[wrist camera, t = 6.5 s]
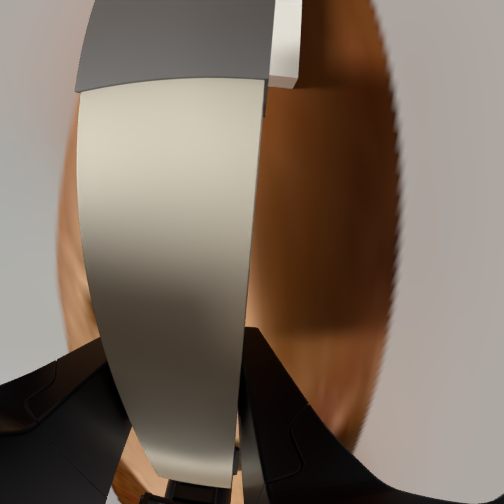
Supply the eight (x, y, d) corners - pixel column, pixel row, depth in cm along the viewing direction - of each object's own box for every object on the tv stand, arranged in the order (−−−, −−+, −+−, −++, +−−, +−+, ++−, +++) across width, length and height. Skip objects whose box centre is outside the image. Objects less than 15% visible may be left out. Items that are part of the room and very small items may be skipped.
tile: (297, 78, 9) (303, -51, 6) (170, 74, 9) (197, -53, 6) (291, 90, 11) (298, -29, 8) (184, 86, 11) (205, -32, 8)
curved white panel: (238, 408, 11) (231, 490, 7) (178, 400, 11) (156, 478, 7) (272, 22, 6) (280, -71, 2) (177, 22, 6) (116, -52, 2)
